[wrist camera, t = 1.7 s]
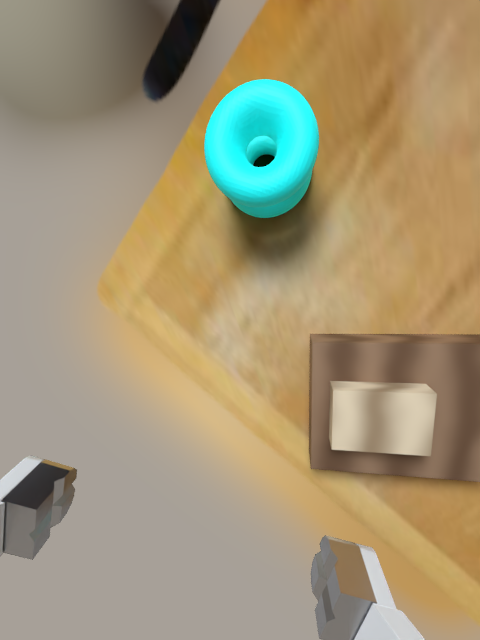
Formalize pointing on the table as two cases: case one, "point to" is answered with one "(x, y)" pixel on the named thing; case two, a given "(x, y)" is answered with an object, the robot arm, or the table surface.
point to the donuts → (262, 147)
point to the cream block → (382, 417)
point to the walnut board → (402, 367)
